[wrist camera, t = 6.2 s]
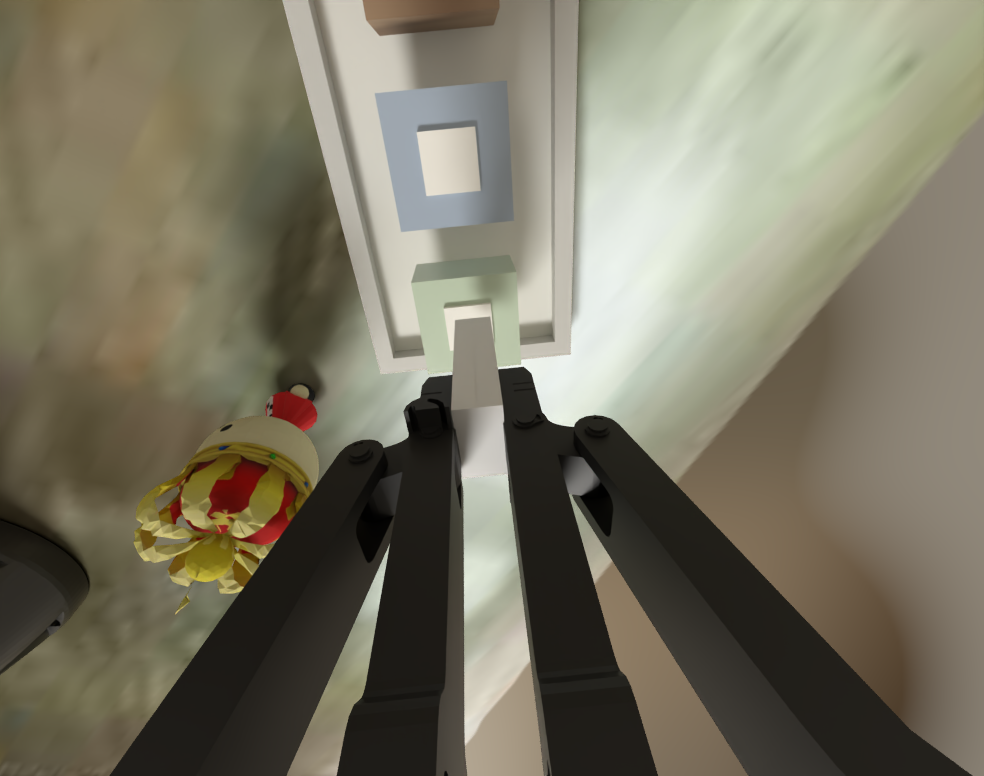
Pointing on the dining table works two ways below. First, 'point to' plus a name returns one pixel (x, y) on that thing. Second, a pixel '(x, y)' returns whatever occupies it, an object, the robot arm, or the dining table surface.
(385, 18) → the key
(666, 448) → the dining table surface
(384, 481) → the robot arm
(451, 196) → the blue square block
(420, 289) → the key
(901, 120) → the dining table surface
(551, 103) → the base
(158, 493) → the toy
